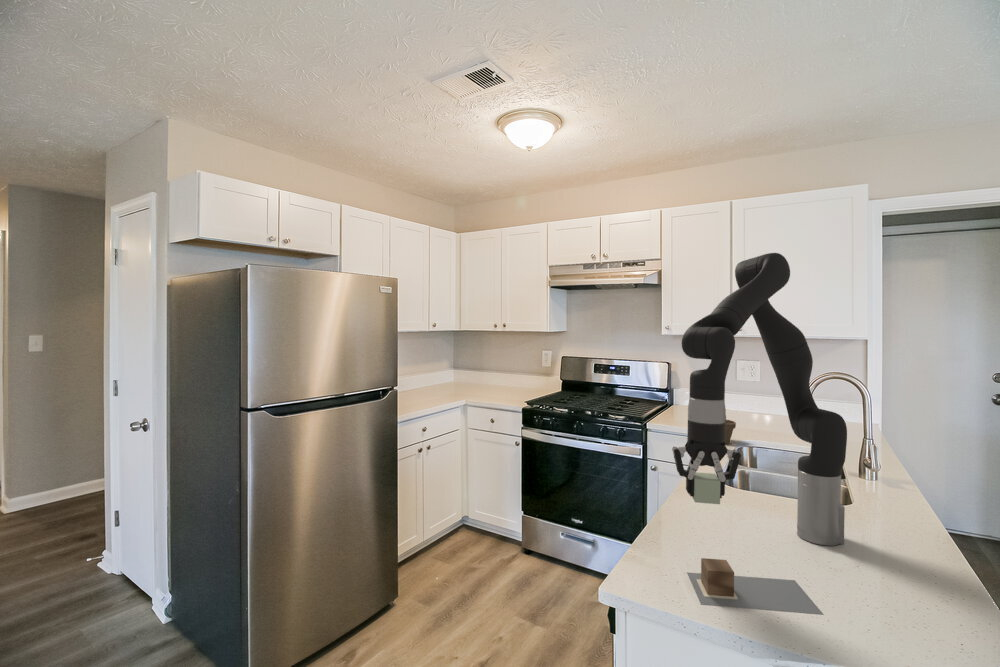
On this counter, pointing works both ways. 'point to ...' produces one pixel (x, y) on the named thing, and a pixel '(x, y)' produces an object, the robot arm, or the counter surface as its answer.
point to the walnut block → (717, 577)
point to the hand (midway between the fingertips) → (704, 495)
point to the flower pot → (729, 430)
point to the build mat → (759, 595)
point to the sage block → (706, 488)
